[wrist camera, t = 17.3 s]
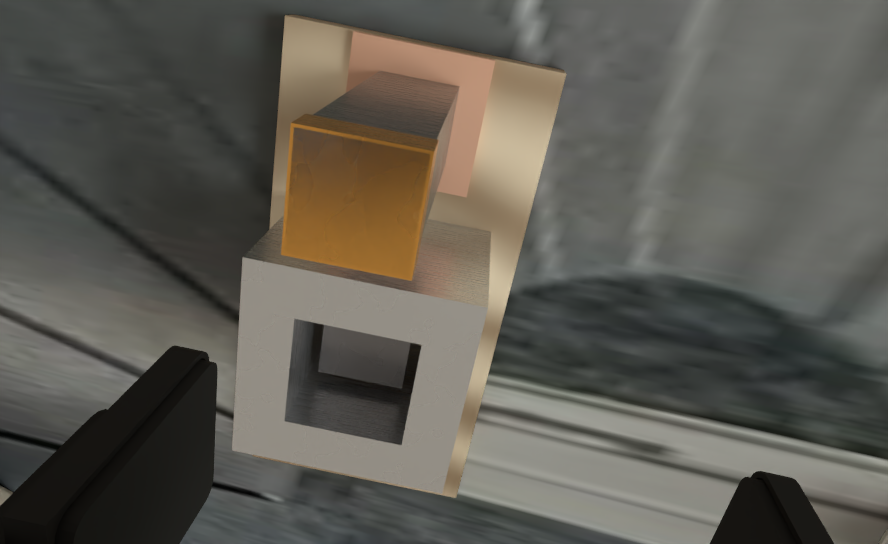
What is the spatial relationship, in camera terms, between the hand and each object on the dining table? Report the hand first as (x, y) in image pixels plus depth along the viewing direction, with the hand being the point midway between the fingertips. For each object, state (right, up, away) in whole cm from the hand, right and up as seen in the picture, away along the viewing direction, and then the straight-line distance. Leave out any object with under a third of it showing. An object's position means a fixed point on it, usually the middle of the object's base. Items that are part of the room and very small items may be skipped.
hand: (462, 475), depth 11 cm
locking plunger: (-4, 0, +21) cm, 22 cm away
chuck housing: (-4, +2, +25) cm, 26 cm away
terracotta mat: (-2, +12, +21) cm, 24 cm away
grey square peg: (-2, +11, +21) cm, 24 cm away
